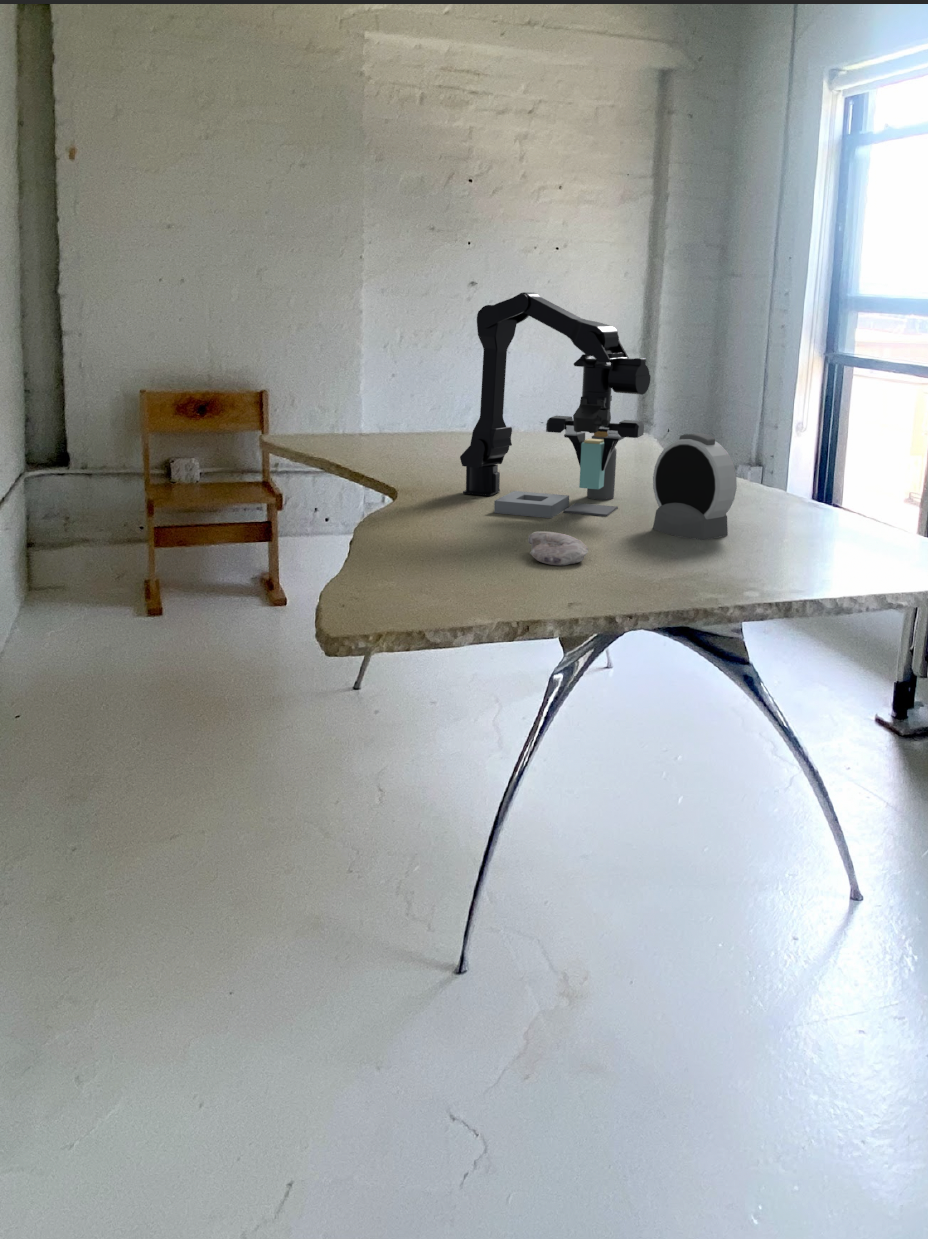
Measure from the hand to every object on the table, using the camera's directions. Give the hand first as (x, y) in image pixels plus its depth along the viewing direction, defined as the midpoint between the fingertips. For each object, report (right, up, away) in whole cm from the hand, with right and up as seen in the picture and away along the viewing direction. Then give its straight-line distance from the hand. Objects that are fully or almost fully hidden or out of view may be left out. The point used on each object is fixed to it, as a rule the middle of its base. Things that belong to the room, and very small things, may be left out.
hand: (592, 469), depth 215 cm
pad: (0, -8, +2) cm, 8 cm away
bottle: (+4, -4, +17) cm, 17 cm away
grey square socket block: (-12, -8, +2) cm, 15 cm away
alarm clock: (+16, -14, -15) cm, 26 cm away
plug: (0, -3, +1) cm, 4 cm away
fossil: (-11, -20, -36) cm, 43 cm away
